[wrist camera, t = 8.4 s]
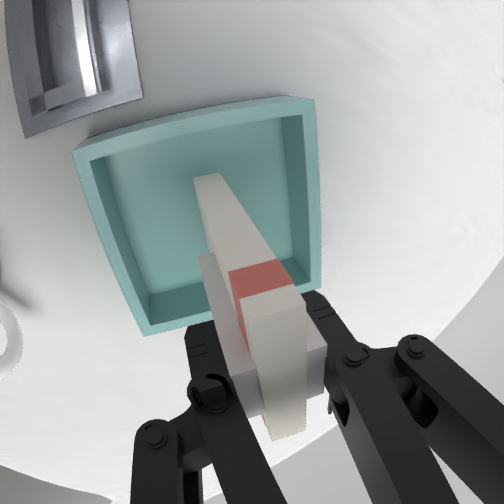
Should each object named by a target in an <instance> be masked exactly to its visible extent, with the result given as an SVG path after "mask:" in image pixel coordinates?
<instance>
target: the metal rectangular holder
mask: <svg viewBox="0 0 504 504" xmlns="http://www.w3.org/2000/svg"><path fill="white" fill-rule="evenodd" d="M4 5H5V24H6V36H7V46H8V54H9V62H10V69H11V75H12V81H13V87H14V92H15V97H16V102H17V107H18V112H19V116H20V120H21V124H22V128H23V132H24V136H25V139H26V138H28V137H30V136H33V135H35V134H37V133H40V132H42V131H45V130H47V129H50V128H52V127H55V126H57V125H60V124H62V123H65V122H68V121H70V120H73V119H76V118H79V117H81V116H84V115H87V114H90V113H93V112H96V111H99V110H102V109H105V108H109V107H112V106H115V105H119V104H122V103H125V102H129V101H133V100H136V99H140V98H143V92H142V87H141V82H140V76H139V70H138V65H137V59H136V53H135V47H134V40H133V34H132V27H131V20H130V13H129V5H128V0H4Z"/></svg>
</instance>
